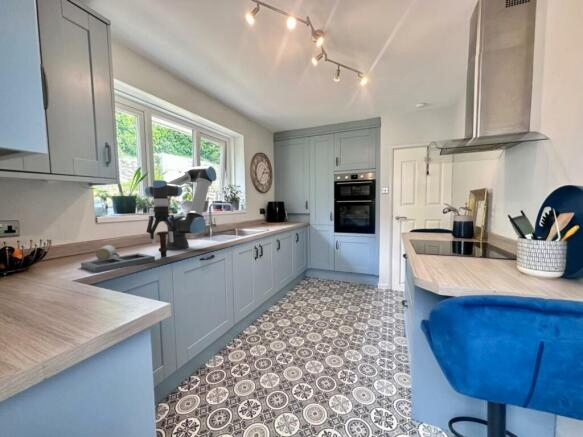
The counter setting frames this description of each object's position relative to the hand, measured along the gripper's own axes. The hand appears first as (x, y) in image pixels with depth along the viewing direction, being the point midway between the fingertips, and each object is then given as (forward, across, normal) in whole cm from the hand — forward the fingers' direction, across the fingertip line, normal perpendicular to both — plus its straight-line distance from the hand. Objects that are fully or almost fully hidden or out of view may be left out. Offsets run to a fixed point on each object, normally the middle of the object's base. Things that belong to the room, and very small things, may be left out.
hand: (163, 243), depth 145 cm
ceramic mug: (+8, +19, -25) cm, 33 cm away
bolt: (+8, 0, 0) cm, 8 cm away
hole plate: (+8, +22, -3) cm, 24 cm away
